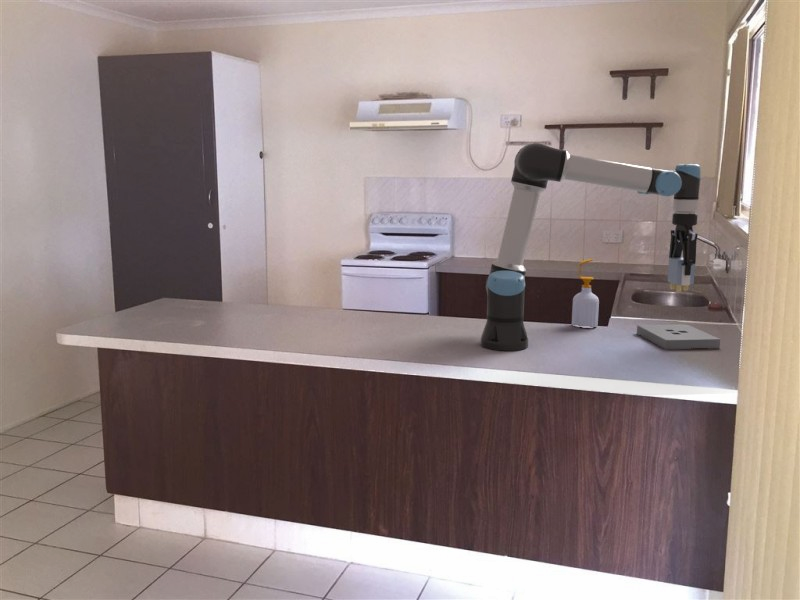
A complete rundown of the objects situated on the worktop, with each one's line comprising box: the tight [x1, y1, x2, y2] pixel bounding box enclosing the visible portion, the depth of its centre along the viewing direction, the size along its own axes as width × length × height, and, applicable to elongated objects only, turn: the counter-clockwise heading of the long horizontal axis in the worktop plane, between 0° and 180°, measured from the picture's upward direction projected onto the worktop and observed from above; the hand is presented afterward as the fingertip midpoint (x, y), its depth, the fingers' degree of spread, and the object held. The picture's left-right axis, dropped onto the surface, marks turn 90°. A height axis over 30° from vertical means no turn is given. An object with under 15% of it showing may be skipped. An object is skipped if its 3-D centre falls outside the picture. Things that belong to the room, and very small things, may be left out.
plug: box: [667, 257, 696, 293], centre depth 240 cm, size 6×6×10 cm
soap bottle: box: [571, 258, 600, 328], centre depth 263 cm, size 9×9×25 cm
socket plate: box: [636, 323, 721, 350], centre depth 244 cm, size 18×22×3 cm
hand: (680, 283), depth 240 cm, fingers closed on plug, 6 cm apart
